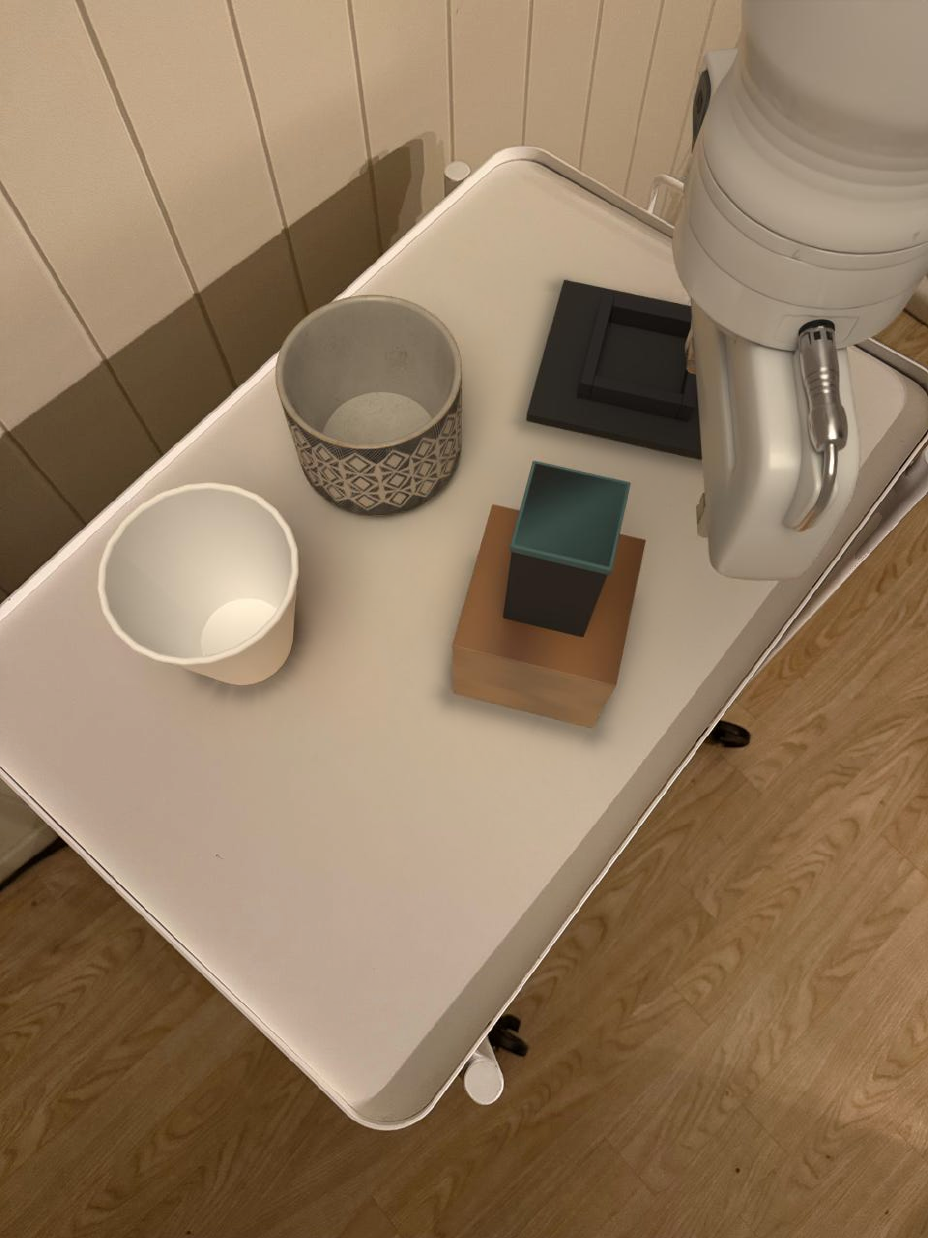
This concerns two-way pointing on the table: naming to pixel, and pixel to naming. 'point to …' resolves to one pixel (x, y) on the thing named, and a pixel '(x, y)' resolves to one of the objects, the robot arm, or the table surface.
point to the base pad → (619, 370)
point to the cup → (204, 582)
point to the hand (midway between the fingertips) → (706, 440)
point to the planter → (373, 402)
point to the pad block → (563, 547)
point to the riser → (541, 637)
